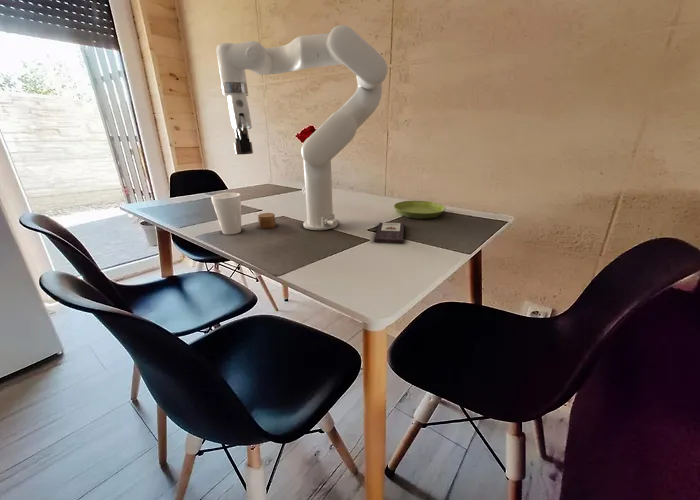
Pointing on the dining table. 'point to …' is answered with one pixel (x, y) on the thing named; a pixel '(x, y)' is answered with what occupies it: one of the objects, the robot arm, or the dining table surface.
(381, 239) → the chocolate bar
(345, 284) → the dining table surface
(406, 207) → the saucer
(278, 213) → the dining table surface
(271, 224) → the oak base
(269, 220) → the oak chip middle
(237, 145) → the walnut chip
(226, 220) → the foam cup
